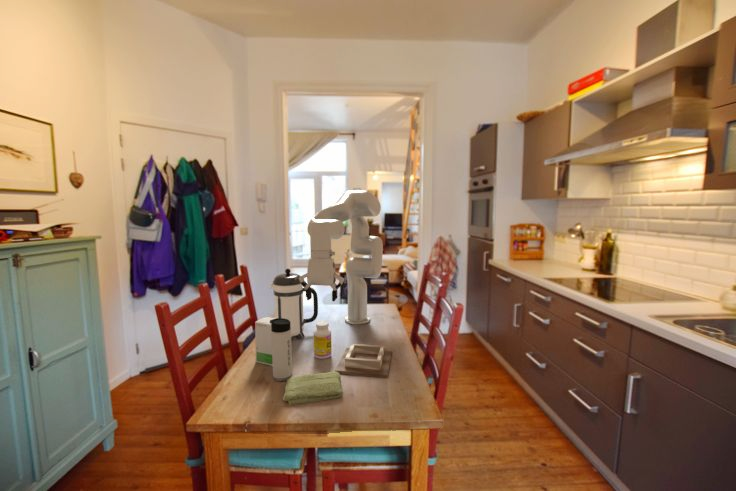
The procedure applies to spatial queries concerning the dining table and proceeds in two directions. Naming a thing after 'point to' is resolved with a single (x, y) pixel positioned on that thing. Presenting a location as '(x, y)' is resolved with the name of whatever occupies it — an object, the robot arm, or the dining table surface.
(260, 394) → the dining table surface
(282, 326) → the travel mug
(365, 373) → the collar dock
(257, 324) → the skincare box
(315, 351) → the supplement bottle
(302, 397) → the washcloth
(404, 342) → the dining table surface
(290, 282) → the coffee press
